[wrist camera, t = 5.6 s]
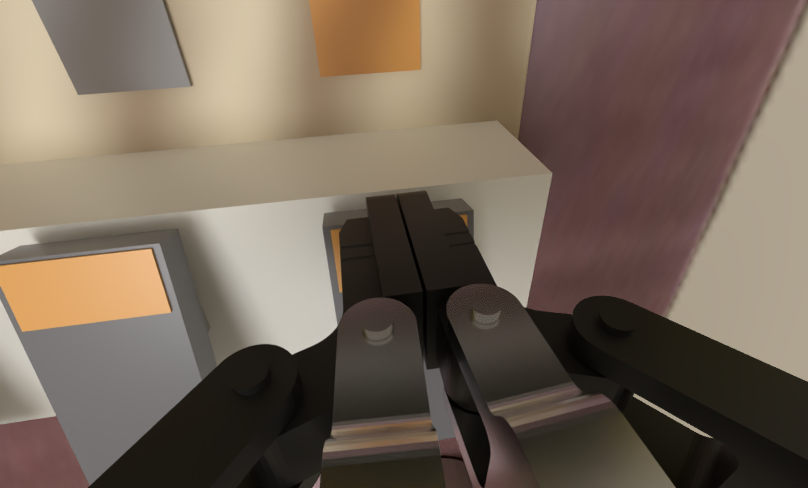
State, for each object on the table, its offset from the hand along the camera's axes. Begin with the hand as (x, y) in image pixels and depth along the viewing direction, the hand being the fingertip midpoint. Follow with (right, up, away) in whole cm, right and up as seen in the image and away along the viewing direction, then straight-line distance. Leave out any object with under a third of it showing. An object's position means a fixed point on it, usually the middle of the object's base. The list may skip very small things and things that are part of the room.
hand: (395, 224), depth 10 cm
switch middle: (-8, -4, +1) cm, 9 cm away
